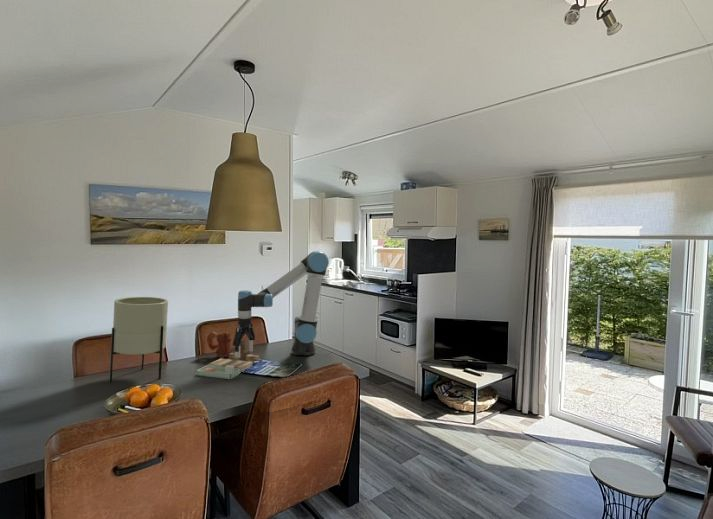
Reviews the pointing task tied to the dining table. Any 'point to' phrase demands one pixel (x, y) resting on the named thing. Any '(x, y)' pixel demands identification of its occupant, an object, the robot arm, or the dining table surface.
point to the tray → (218, 372)
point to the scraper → (244, 353)
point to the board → (232, 363)
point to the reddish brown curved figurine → (220, 343)
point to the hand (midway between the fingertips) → (244, 354)
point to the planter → (139, 327)
